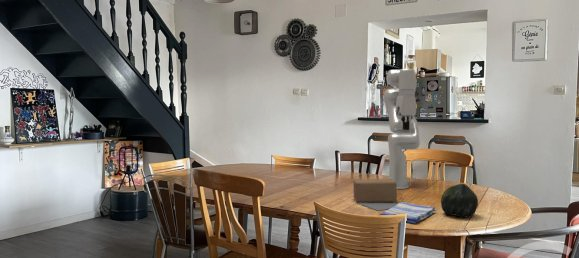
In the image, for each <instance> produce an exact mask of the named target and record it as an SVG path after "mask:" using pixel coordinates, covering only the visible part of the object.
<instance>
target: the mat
mask: <svg viewBox="0 0 579 258" xmlns="http://www.w3.org/2000/svg"><path fill="white" fill-rule="evenodd" d="M356 204H357V205H360V206H362V207H366V208H367V209H371V210H374V211H376V212H382V211H386V210H389V209H390V208H392V207H394V206H396V205H397V204H399V202H356Z"/></svg>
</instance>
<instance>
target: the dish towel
mask: <svg viewBox="0 0 579 258" xmlns="http://www.w3.org/2000/svg"><path fill="white" fill-rule="evenodd" d="M436 211H437V210H436V208H435V207H434V206H428V205H421V204H414V203H410V202H405V201H404V202H403V201H402V202H398V204H397V205H396V206H394V207H392V208H390V209H389V210H384V211H383V212H381V213H379V214H378V216H379V215H396V214H403V213H407V222H406V223H408V224H414V225H416V224H417V223H419V222H420V221H422V220H424V219H426V218H428V217H430V216H431V215H433V214H434V213H435V212H436Z"/></svg>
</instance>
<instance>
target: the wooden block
mask: <svg viewBox="0 0 579 258" xmlns="http://www.w3.org/2000/svg"><path fill="white" fill-rule="evenodd" d="M352 183H353V198H354V201H355V202H356V203H362V202H395V203H397V200H398V195H397V194H398V193H397V192H398V191H397V190H398V189H397V183H396V182H395V181H394V180H392V179H389V178H377V179H375V178H373V179H372V178H370V179H367V178H365V179H364V178H363V179H354V180H353V182H352Z"/></svg>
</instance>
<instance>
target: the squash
mask: <svg viewBox="0 0 579 258" xmlns="http://www.w3.org/2000/svg"><path fill="white" fill-rule="evenodd" d="M440 206H441V210H442V211H443V212H444V213H445V214H446V215H450V216H454V215H455V216H459V217H461V218H470V217H472V216H473V215H475V213H476V211H477V208H478V206H479V200H478V196H477V194H476V193H475V192H474V191H473V190H472V189H471V188H470V187H469V186H468V185H467V184H465V183H459V184H456V185H452V186H450V187H448V188H446V189H445V190H444V191H443V193H442V195H441V198H440Z"/></svg>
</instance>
